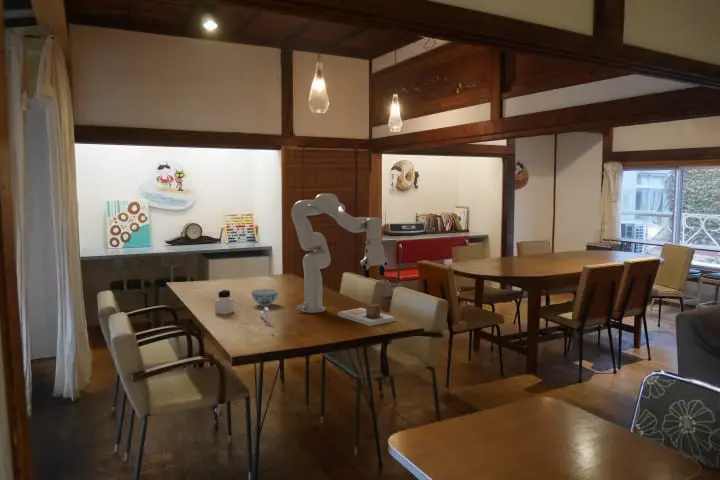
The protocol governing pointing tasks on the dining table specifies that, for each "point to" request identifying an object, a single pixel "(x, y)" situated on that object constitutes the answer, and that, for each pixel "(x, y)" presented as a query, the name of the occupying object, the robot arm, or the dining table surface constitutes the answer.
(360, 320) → the pocket board
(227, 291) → the medicine bottle
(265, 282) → the dining table surface
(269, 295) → the chinaware
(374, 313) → the walnut block
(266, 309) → the llama figurine
